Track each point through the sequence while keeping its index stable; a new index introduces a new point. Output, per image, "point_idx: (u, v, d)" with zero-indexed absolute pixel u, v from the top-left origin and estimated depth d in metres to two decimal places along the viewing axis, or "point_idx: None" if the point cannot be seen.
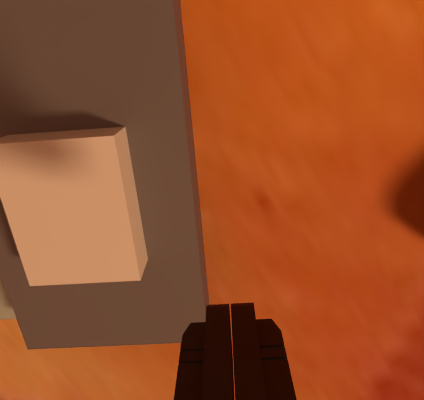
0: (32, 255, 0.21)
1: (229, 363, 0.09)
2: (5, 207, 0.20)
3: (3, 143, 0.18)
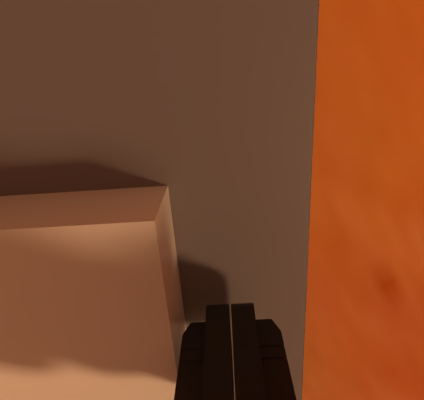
0: None
1: (229, 363, 0.09)
2: None
3: None
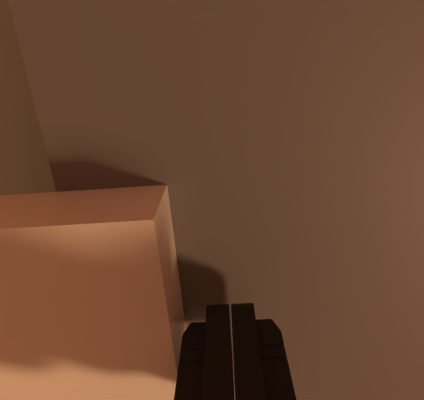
0: None
1: (229, 363, 0.09)
2: None
3: None
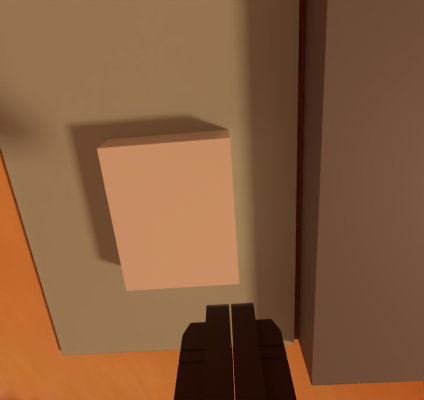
0: None
1: (229, 363, 0.09)
2: None
3: (209, 131, 0.20)
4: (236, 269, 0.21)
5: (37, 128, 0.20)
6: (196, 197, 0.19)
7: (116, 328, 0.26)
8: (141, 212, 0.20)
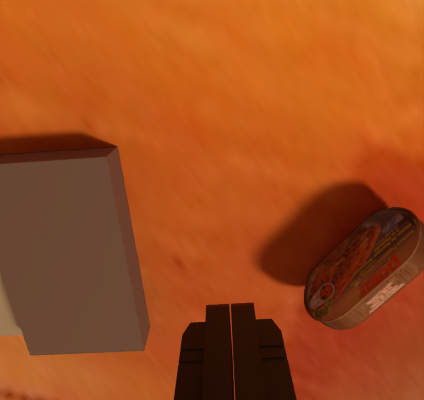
0: None
1: (229, 363, 0.09)
2: None
3: None
4: None
5: None
6: None
7: None
8: None
